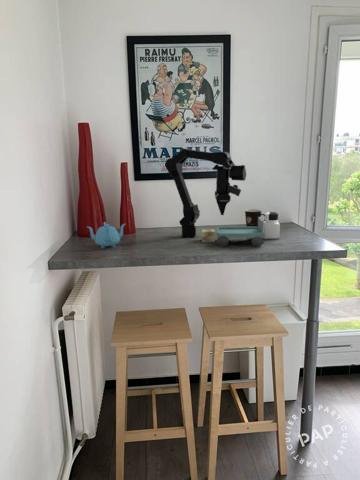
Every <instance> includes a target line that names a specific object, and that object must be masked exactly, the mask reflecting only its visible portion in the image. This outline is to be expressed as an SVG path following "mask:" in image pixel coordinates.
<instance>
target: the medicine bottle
mask: <svg viewBox="0 0 360 480" xmlns="http://www.w3.org/2000/svg"><path fill="white" fill-rule="evenodd" d="M264 215H265V216H264V219H265V221H264V220H263V233H264V238H263V240H264V239H268V240H269V239H270V240H273V239H274V240H276V239H280V234H281V233H280V230H281V224H280V222H279V213H278V212H276V211H269V212H268V211H267V212H266V213H264Z"/></svg>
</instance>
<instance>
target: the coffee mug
mask: <svg viewBox="0 0 360 480" xmlns="http://www.w3.org/2000/svg"><path fill="white" fill-rule="evenodd" d="M244 216H245V225H246V226H245V227H258V217H261V218H262V216H264V217H265V213H262V210H261V209H257V208H250V209H249V208H248V209H245V210H244ZM263 221H265V218H264V220H263Z"/></svg>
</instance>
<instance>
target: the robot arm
mask: <svg viewBox="0 0 360 480" xmlns="http://www.w3.org/2000/svg"><path fill="white" fill-rule="evenodd" d="M188 159H195V160H202V161H209V162H211V163H213V164H215V165H214V166H213V167H212V170H213V171H216V182H215V185H216V187H215V189H216V190H215V191H214V198H215V201H216V204H217V207H218V210H219V213H220V216H224V215H225V211H226V208H227V207H226V206H227V205H228V204H229V203H230V201H231V197H232V196H231V195H230V194H232V195H235V196H237V197H239V196H240V194H241V192H242V189H241V188H239V186H238V184H233V185H231V183H230V179H231V181H243V182H245V180H246V178H247V171H246V165H245V164H241V165H235V162H234V161H233V160H232V156H231V153H229V152H228V151H217V152H213V151H212V152H209V151H204V150H195V149H189V148H183V149H181V150H180V151H179V152H178V153H177V154H175V155H173V156H172V157H171V158H168V159H167V160H166V161H165V163H164V166H165V169H166V170H167V172H168V174H169V175H170V176H171V177H172V178H173V181H174V184H175V186H176V189H177V192H178V195H179V197H180V200H181V204H182V213H183V214H182V215H183V217H182V218H181V219H180V220H179V224H180V226H181V238H195V237H197V227H196V226H195V225H196V223H197V220H199V218H200V216H201V214H200V213H201V211H200V209H199V206H198V204H194V203H193V201H192V198H191V195H190V192H189V189H188V188H187V185H186V182H185V178H184V175H183V164H184V163H185V162H186V161H187V160H188Z"/></svg>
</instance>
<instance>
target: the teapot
mask: <svg viewBox="0 0 360 480" xmlns="http://www.w3.org/2000/svg"><path fill="white" fill-rule="evenodd" d="M125 225H126V223H122V224H121V225H120V229H119V230H120V231H118V230H117V229H116V228H115V227H114V226H112V225H110V224H109V223H107V222H106V221H104V222H103V226H100V227H99V228H98V229H97V231H96V232H95V234H94V230H93V228H92V227H91V226H87V228H88V230H89V232H90V238H91V239H92V240H93V241H94V242H95V244H97V245H98V246H100V249H105V248H106V247H108V246H109V247H110V246H111V248H116V247H117V246H116V245H117V244H119V243H120V241H121V238H122V237H123V236H124V227H125ZM104 247H105V248H104Z"/></svg>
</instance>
